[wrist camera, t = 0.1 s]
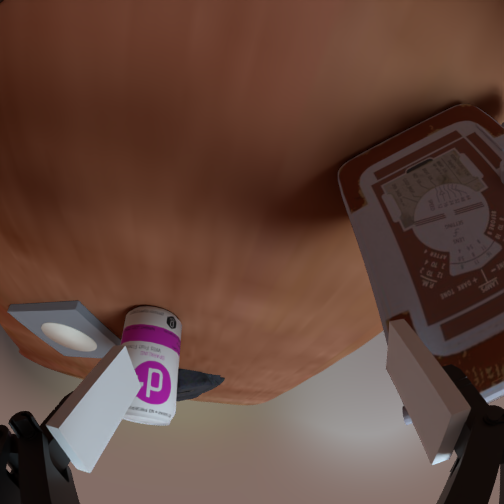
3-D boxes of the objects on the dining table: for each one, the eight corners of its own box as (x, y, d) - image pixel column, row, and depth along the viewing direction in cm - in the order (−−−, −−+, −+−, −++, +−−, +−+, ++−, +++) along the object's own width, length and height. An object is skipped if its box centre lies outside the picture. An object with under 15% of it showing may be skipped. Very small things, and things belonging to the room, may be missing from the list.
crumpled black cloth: (145, 385, 71) (143, 402, 68) (159, 361, 56) (157, 383, 53) (199, 394, 77) (199, 410, 73) (229, 373, 62) (229, 394, 59)
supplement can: (131, 297, 37) (113, 409, 27) (190, 313, 40) (183, 422, 30) (123, 321, 42) (108, 416, 33) (173, 335, 46) (165, 427, 36)
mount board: (10, 304, 40) (7, 312, 39) (78, 300, 38) (75, 310, 37) (66, 349, 53) (64, 356, 52) (134, 351, 51) (133, 359, 50)
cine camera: (515, 145, 20) (625, 314, 7) (363, 224, 28) (421, 435, 15) (504, 66, 14) (675, 248, 1) (320, 158, 23) (396, 441, 10)
